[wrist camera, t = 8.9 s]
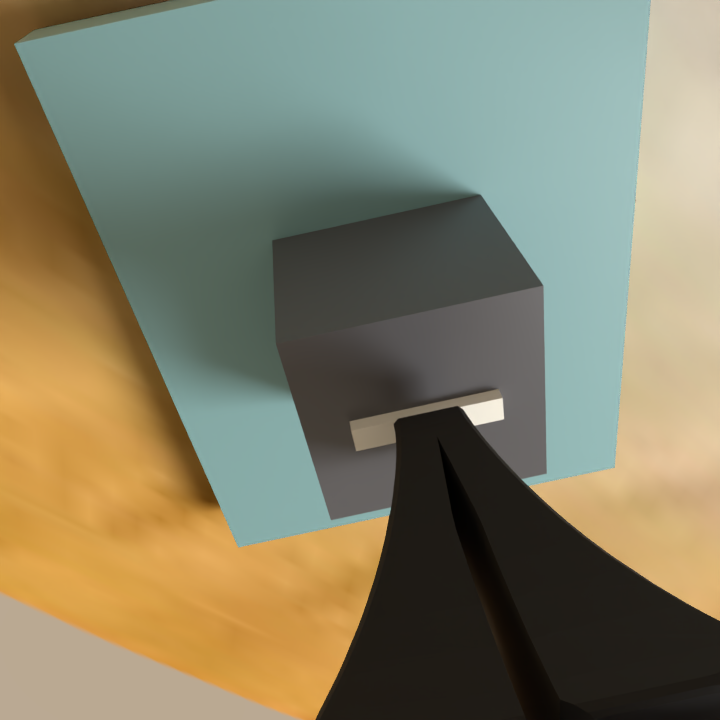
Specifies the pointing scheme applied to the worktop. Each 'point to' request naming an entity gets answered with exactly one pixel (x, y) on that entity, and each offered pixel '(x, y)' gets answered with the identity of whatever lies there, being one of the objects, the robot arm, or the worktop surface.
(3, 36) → the worktop surface
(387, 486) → the grey drawer cube
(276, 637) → the worktop surface
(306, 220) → the base
